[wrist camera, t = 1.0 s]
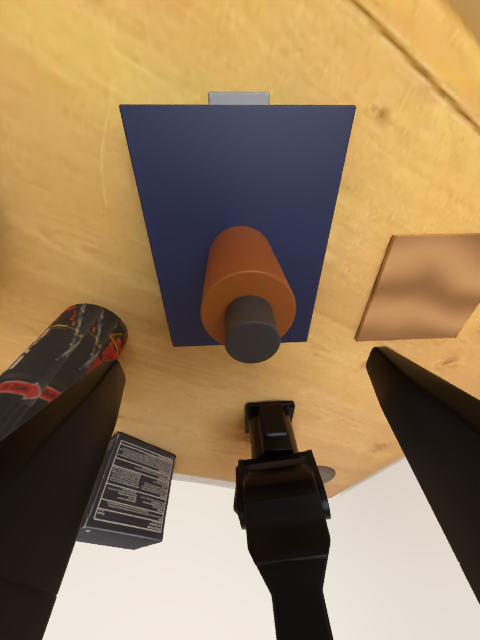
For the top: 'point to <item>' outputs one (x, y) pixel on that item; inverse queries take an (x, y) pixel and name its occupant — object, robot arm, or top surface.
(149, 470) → the small box
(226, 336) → the bottle
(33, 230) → the top surface
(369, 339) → the coaster
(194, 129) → the case
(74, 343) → the deodorant
